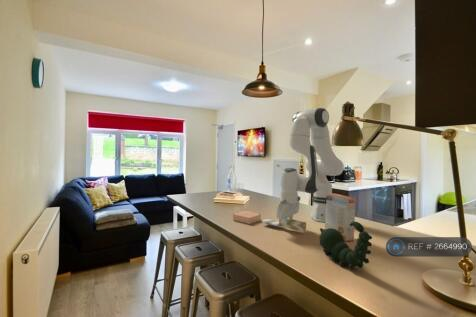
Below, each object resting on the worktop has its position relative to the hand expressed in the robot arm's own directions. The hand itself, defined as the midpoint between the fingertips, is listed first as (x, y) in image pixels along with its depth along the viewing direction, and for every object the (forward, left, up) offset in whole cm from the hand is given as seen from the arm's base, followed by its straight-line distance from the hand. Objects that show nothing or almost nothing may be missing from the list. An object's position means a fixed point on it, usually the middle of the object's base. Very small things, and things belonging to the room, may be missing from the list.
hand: (287, 224), depth 130 cm
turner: (+2, 0, -2) cm, 3 cm away
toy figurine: (-32, +20, -3) cm, 38 cm away
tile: (+21, 0, -2) cm, 21 cm away
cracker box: (-24, -9, -3) cm, 26 cm away
